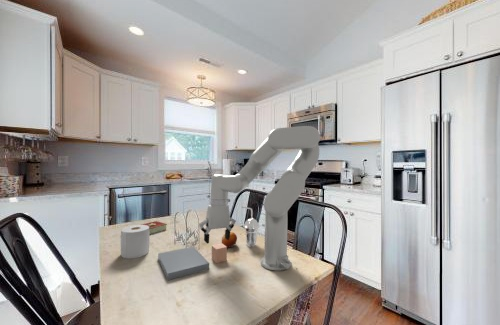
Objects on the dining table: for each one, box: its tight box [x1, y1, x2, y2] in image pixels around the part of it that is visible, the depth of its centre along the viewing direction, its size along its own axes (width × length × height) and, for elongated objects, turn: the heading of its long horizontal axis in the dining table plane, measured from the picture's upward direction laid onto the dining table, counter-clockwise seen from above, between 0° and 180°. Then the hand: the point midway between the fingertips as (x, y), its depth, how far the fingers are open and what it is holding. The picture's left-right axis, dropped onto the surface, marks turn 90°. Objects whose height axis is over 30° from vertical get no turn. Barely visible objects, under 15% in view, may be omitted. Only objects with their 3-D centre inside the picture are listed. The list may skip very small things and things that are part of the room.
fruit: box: [221, 231, 238, 248], centre depth 113 cm, size 8×8×8 cm
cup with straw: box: [241, 206, 261, 248], centre depth 114 cm, size 8×9×20 cm
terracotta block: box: [211, 242, 228, 264], centre depth 97 cm, size 5×5×6 cm
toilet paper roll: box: [120, 224, 150, 259], centre depth 103 cm, size 12×12×12 cm
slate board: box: [157, 246, 210, 281], centre depth 93 cm, size 20×16×2 cm
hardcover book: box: [140, 220, 168, 235], centre depth 134 cm, size 12×21×4 cm, turn 145°
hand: (217, 240), depth 98 cm, fingers open, 9 cm apart
